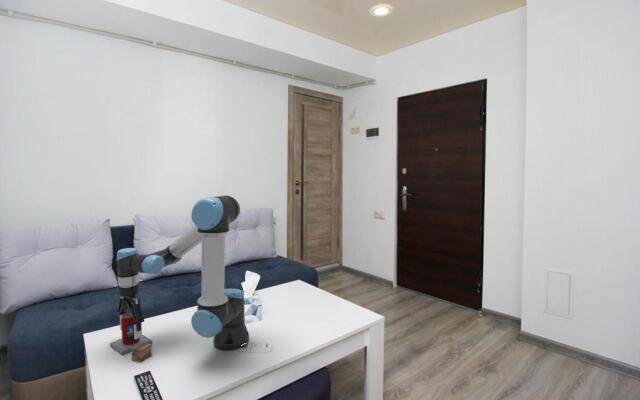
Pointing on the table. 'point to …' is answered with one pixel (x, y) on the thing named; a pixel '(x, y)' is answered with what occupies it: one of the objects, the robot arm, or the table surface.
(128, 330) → the beverage can
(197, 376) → the table surface
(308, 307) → the table surface
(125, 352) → the coaster
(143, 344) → the walnut block
